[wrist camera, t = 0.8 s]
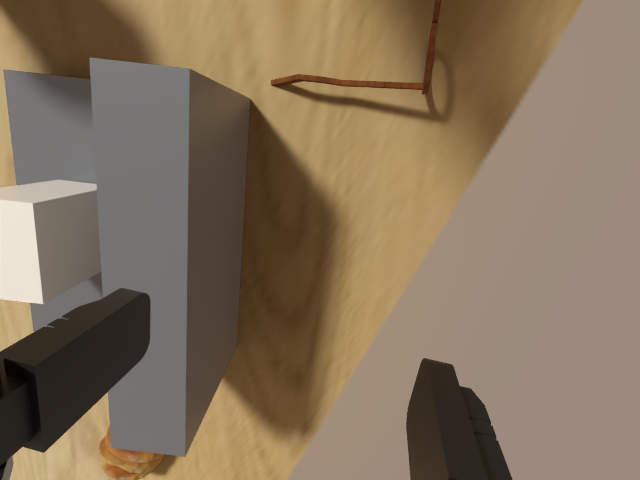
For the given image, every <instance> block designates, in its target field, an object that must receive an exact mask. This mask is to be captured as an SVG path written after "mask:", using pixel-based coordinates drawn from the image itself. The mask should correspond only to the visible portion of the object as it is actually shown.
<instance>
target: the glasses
mask: <svg viewBox="0 0 640 480" xmlns="http://www.w3.org/2000/svg"><path fill="white" fill-rule="evenodd" d="M440 3H441V0H435V7H434V14H433V21H432V28H431V34H430V40H429V47H428V54H427V61H426V68H425V75H424V82H423V83H399V82H376V81H352V80H339V79H333V78H326V77H320V76H311V75H301V74H297V75H293V76H288V77H284V78H280V79H275V80H271V85H278V86H282V85H287V84H292V83H296V82H301V81H307V82H317V83H326V84H332V85H339V86H350V87H372V88H393V89H415V90H422V94H427V92H428V87H429V81H430V74H431V68H432V61H433V55H434V48H435V40H436V33H437V24H438V17H439V10H440Z"/></svg>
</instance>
